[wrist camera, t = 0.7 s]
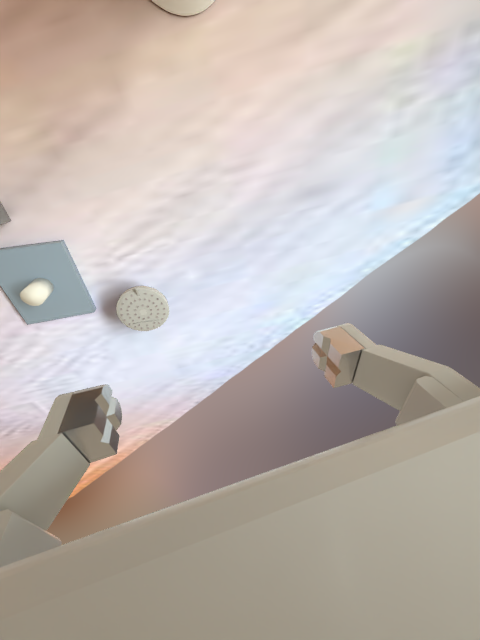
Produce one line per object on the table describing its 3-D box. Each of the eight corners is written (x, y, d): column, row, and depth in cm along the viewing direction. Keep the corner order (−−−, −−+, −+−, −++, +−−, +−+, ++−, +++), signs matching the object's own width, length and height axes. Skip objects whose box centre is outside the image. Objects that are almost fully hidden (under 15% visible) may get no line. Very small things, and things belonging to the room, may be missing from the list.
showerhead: (163, 284, 43) (172, 329, 49) (163, 270, 49) (171, 311, 54) (107, 292, 41) (123, 337, 47) (113, 275, 47) (127, 318, 52)
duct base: (-17, 250, 39) (-42, 262, 34) (63, 240, 41) (51, 250, 37) (30, 320, 47) (16, 338, 42) (96, 308, 49) (89, 324, 44)
